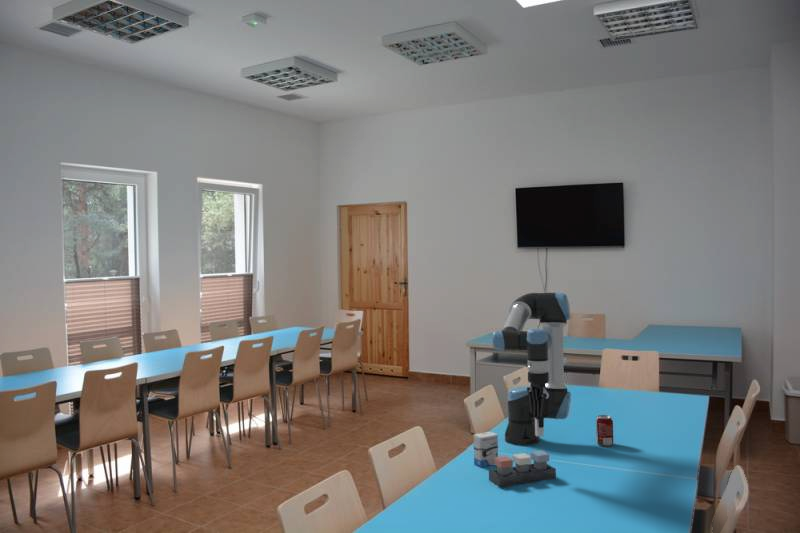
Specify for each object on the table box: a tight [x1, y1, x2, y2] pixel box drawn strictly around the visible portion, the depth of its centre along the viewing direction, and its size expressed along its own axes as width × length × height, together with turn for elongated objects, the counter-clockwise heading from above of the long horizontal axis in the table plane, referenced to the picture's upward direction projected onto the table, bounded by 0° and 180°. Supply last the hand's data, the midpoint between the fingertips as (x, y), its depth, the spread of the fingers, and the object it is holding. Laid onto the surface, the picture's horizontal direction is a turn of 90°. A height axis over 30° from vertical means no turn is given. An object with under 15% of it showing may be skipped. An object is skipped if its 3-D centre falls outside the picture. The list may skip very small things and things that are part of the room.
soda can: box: [595, 414, 614, 448], centre depth 261 cm, size 7×7×12 cm
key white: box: [512, 452, 532, 473], centre depth 224 cm, size 5×5×5 cm
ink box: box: [473, 431, 499, 468], centre depth 241 cm, size 8×5×12 cm, turn 117°
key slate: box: [530, 450, 550, 470], centre depth 227 cm, size 5×5×5 cm
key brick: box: [494, 455, 514, 476], centre depth 222 cm, size 5×5×5 cm
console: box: [488, 463, 557, 489], centre depth 224 cm, size 23×8×4 cm, turn 109°
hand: (539, 435), depth 226 cm, fingers closed
